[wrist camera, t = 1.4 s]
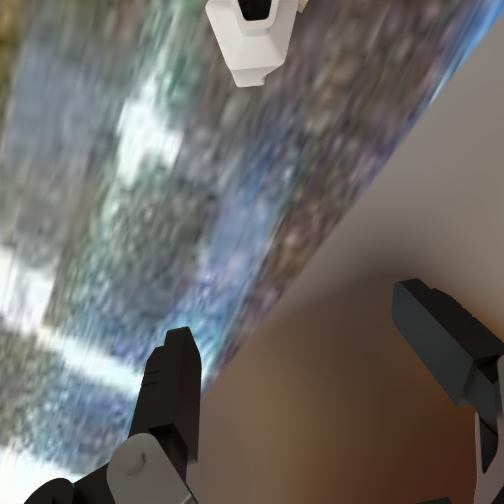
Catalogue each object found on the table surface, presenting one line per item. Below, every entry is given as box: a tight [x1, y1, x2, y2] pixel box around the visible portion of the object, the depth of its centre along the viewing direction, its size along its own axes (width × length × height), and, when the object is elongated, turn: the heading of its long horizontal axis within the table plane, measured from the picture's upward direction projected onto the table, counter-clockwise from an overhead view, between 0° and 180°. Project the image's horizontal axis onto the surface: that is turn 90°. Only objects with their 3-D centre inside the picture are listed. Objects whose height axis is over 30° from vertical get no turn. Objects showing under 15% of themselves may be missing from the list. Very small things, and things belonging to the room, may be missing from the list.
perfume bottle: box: [206, 0, 299, 87], centre depth 19 cm, size 5×4×15 cm
